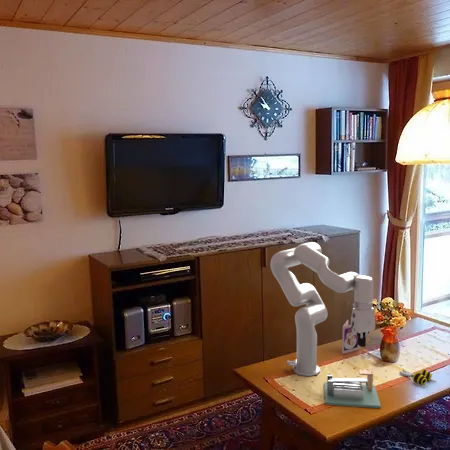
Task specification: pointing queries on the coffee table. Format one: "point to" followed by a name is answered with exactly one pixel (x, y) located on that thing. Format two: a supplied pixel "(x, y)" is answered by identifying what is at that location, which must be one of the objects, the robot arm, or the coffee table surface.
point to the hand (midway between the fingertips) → (361, 345)
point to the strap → (350, 380)
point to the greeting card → (349, 339)
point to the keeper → (368, 377)
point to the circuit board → (368, 399)
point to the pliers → (406, 373)
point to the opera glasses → (422, 377)
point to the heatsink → (344, 390)
